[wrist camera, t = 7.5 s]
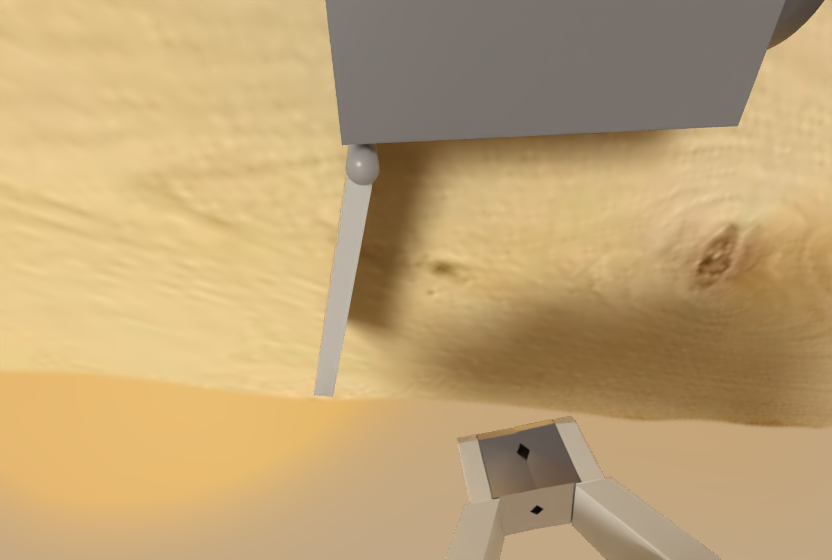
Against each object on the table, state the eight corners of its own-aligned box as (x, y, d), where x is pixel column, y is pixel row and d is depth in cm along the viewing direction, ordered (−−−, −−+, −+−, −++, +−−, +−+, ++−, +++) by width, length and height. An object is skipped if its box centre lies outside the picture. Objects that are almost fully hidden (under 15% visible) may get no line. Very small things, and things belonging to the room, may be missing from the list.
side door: (340, 319, 22) (334, 403, 17) (322, 317, 21) (310, 402, 16) (375, 121, 17) (382, 155, 12) (352, 116, 16) (348, 148, 11)
